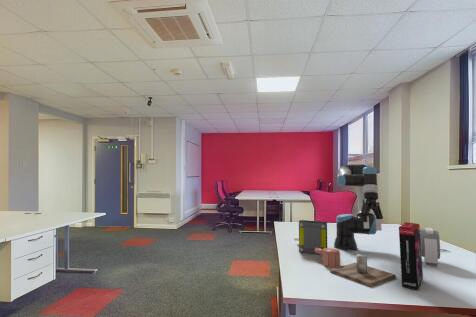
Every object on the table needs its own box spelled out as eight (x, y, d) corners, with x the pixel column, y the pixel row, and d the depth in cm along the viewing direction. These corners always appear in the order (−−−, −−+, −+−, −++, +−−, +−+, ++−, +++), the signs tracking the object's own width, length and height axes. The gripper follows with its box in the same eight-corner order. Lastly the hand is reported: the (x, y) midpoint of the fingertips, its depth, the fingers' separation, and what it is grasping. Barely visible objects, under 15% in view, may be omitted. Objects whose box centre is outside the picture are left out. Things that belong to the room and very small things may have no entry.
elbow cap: (343, 265, 150) (343, 250, 151) (332, 268, 145) (332, 253, 146) (321, 258, 163) (321, 245, 164) (310, 260, 158) (310, 247, 159)
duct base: (330, 272, 139) (329, 253, 140) (355, 265, 151) (355, 248, 152) (370, 287, 121) (369, 265, 121) (395, 277, 133) (395, 258, 133)
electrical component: (298, 252, 176) (298, 221, 177) (300, 248, 185) (300, 219, 187) (326, 255, 169) (325, 223, 171) (327, 251, 178) (327, 221, 180)
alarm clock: (441, 269, 146) (439, 231, 147) (422, 266, 150) (421, 229, 152) (437, 260, 161) (436, 226, 162) (420, 258, 165) (419, 225, 167)
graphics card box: (418, 291, 117) (416, 228, 119) (400, 287, 121) (398, 226, 123) (423, 280, 130) (420, 223, 132) (406, 276, 134) (404, 221, 136)
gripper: (365, 188, 148) (367, 227, 142) (387, 195, 162) (390, 231, 156) (353, 189, 154) (354, 227, 148) (375, 196, 168) (377, 231, 162)
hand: (373, 229), depth 152 cm, fingers open, 13 cm apart
